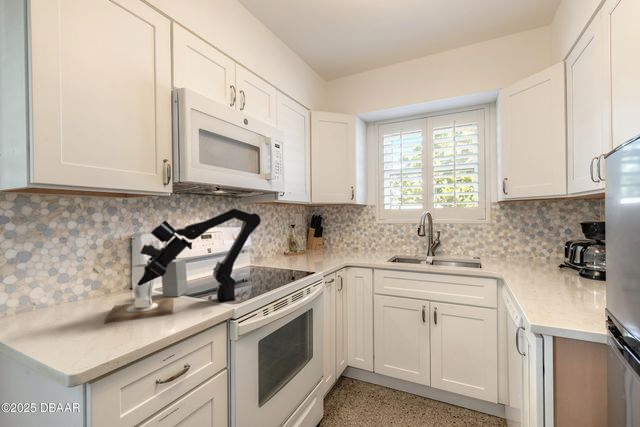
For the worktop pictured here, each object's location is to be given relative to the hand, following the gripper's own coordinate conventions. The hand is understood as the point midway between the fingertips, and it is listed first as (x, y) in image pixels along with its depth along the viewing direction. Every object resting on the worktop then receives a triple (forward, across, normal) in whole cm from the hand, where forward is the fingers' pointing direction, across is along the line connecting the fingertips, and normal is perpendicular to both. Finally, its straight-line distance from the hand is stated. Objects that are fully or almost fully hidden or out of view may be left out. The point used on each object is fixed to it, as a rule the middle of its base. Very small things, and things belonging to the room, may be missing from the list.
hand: (138, 282), depth 106 cm
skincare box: (-1, -19, +17) cm, 26 cm away
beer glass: (+5, 0, +7) cm, 9 cm away
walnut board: (+7, 0, +8) cm, 11 cm away
